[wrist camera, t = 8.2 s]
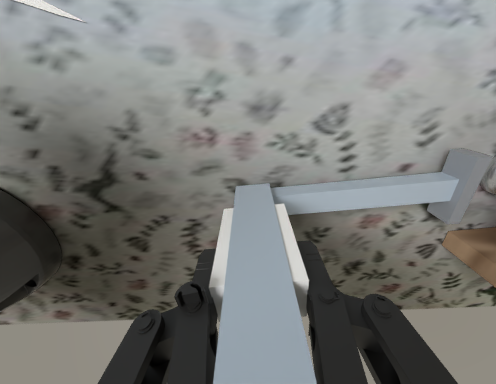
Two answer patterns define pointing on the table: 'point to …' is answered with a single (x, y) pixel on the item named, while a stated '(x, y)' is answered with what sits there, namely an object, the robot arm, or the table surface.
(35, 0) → the scissors
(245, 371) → the push tool
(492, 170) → the steel token
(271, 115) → the table surface
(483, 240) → the wooden arch block
